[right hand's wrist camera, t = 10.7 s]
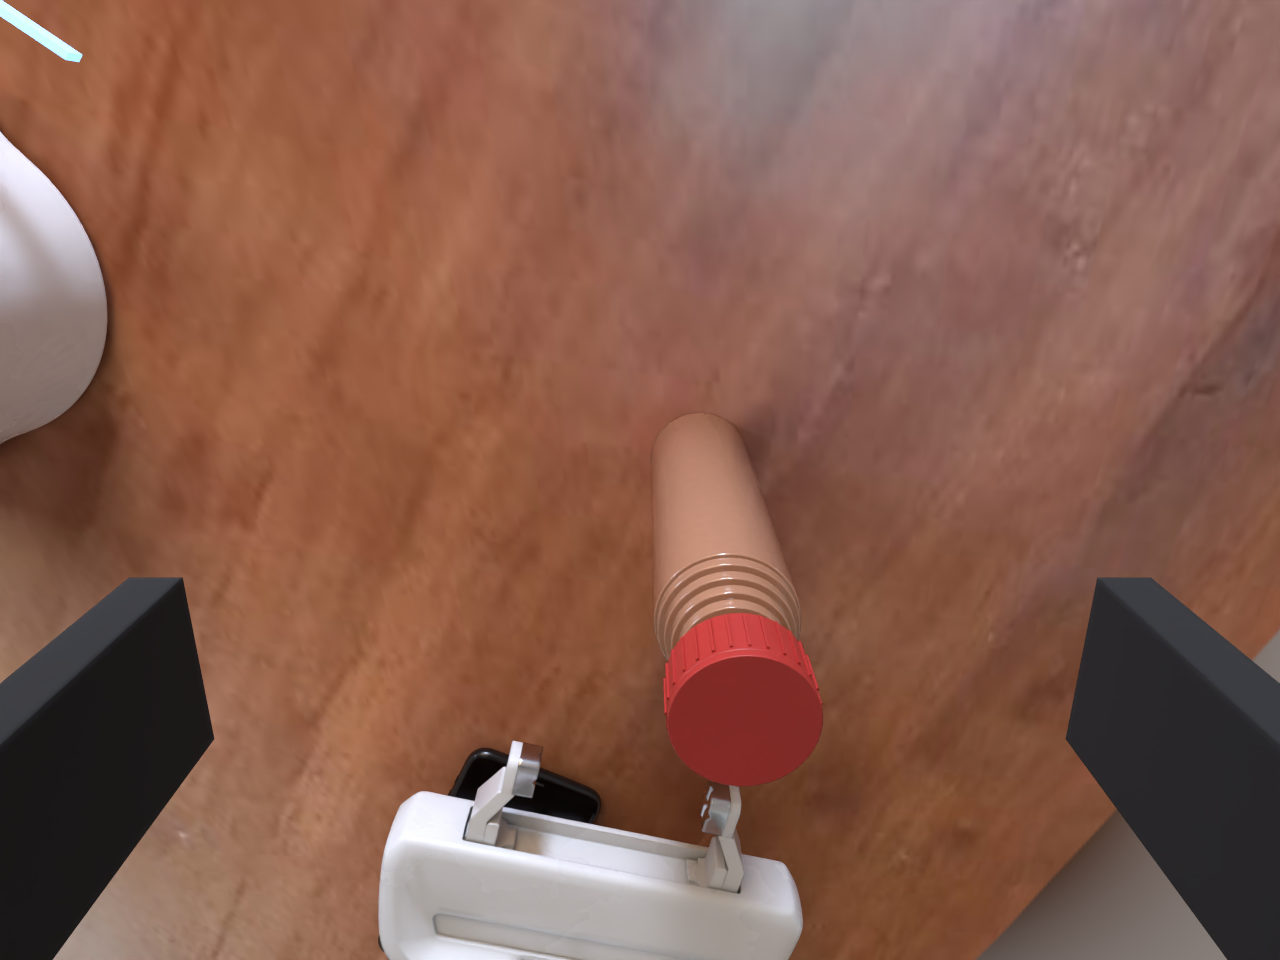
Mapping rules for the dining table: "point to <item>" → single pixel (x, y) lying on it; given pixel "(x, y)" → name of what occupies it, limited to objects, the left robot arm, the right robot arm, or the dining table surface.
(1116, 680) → the right robot arm
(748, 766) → the cap
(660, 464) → the bottle
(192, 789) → the dining table surface
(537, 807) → the smartphone
